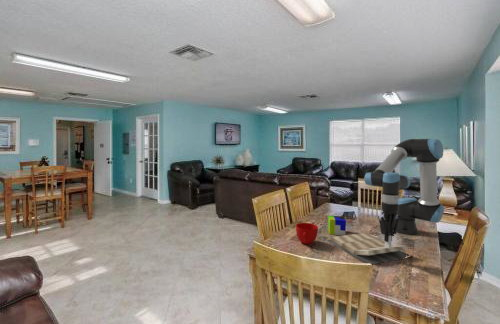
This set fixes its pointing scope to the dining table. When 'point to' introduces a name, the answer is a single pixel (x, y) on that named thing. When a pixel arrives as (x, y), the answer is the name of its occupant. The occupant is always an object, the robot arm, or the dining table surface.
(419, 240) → the dining table surface
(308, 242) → the ceramic cup
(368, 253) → the birch plank
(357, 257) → the floor section
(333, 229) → the puzzle toy
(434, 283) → the dining table surface
